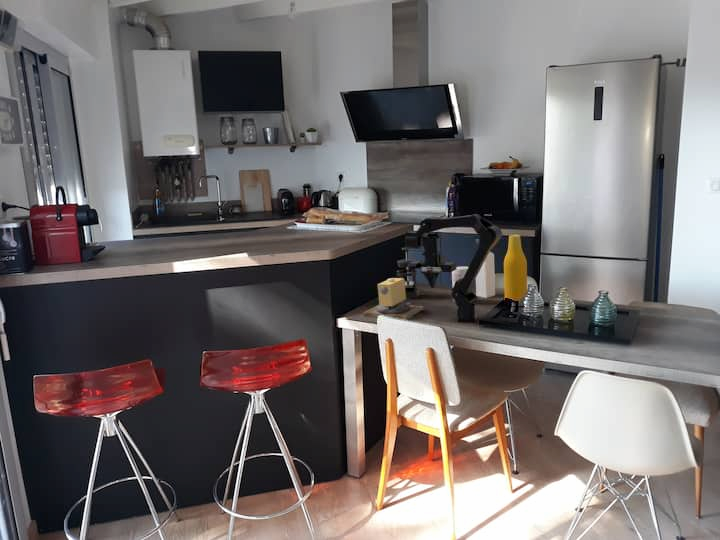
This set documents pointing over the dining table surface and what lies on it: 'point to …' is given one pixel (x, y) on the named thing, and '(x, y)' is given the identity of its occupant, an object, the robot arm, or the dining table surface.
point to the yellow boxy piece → (391, 291)
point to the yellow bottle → (515, 270)
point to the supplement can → (458, 274)
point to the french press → (399, 274)
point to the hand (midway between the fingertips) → (432, 287)
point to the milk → (486, 278)
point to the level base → (401, 315)
